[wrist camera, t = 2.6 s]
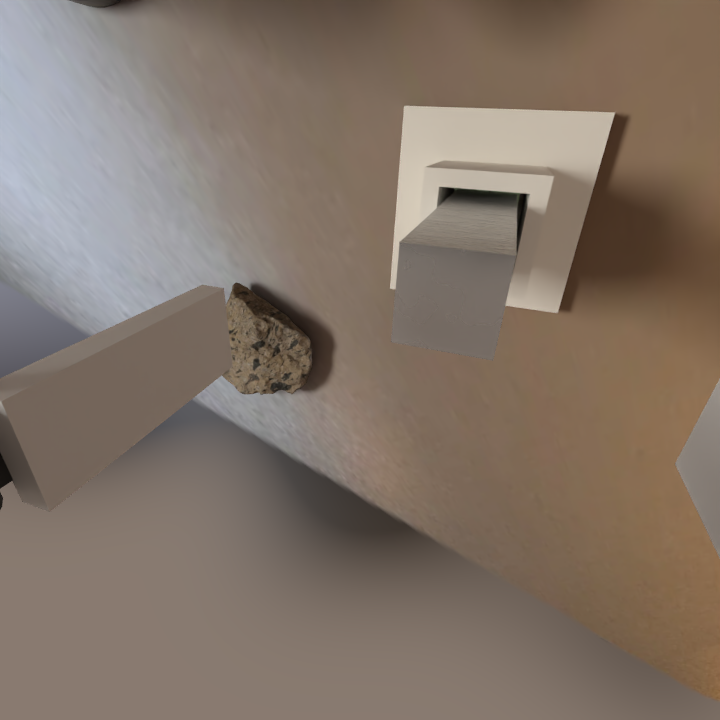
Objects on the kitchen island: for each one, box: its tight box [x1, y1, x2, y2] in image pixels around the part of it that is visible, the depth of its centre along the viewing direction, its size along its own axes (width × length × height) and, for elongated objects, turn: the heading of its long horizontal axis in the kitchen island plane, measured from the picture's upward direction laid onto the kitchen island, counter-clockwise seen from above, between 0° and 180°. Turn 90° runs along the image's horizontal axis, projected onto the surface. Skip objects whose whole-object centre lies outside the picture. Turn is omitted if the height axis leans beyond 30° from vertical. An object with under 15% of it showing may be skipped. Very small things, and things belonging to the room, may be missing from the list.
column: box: [391, 188, 520, 360], centre depth 24 cm, size 4×4×20 cm
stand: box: [390, 106, 615, 313], centre depth 30 cm, size 14×14×9 cm
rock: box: [222, 283, 312, 395], centre depth 45 cm, size 11×12×4 cm
